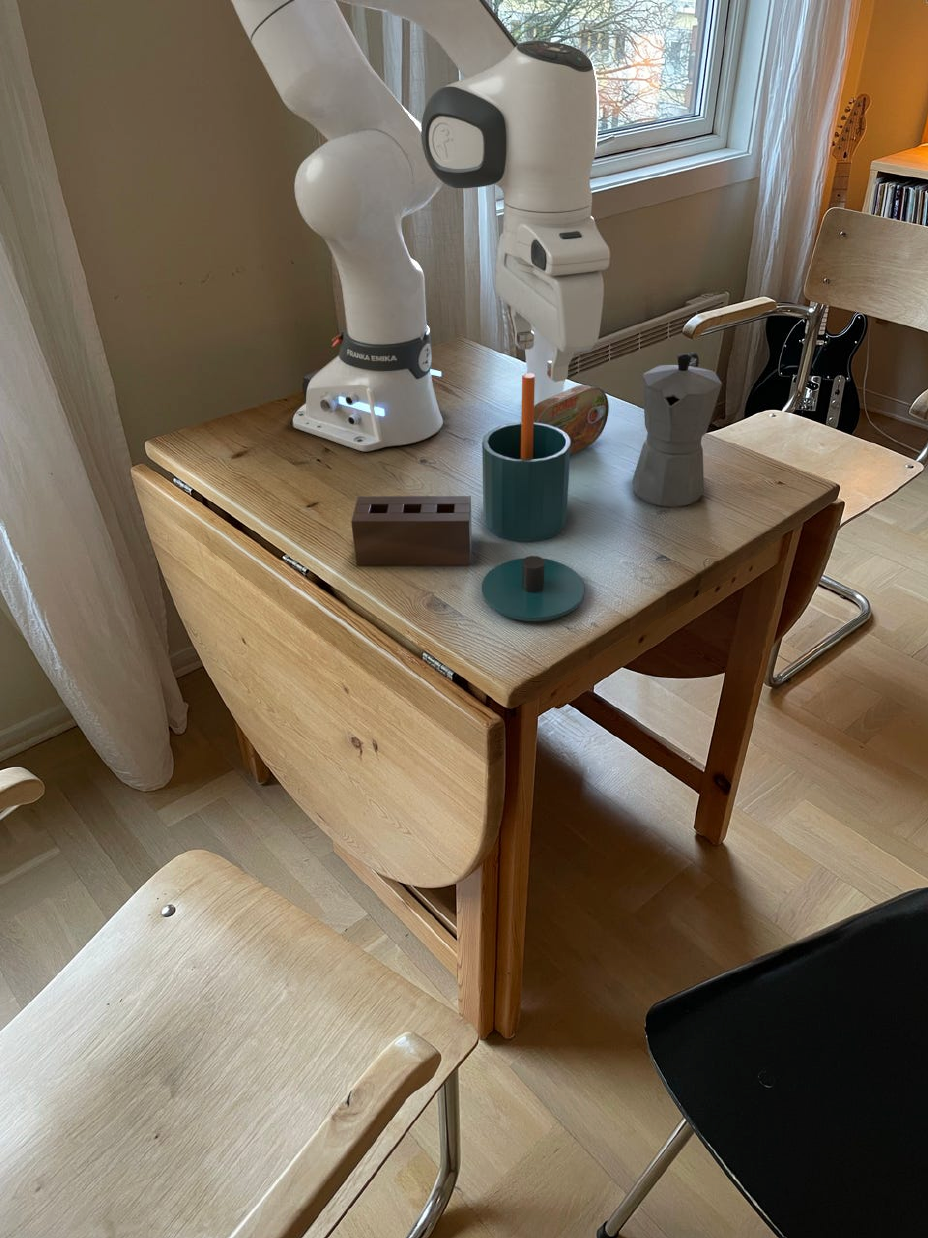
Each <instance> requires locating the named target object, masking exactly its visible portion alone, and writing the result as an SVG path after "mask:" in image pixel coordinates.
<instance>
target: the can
mask: <svg viewBox="0 0 928 1238" xmlns="http://www.w3.org/2000/svg"><path fill="white" fill-rule="evenodd" d="M570 445H571V440H570V438H569V436H568V435H567V434H566V433H565V432H563V431H562V430H561V429H559V428H556V427H553V426H551V425H547V424H542V423H536V422H534V429H533V459H532V460H522V459H521V422H520V421H519V422H511V423H506V424H503V425H499V426H497V427H495V428H493V429H491V430H489V431H488V432H487V433H486V434H485V435H484V436H483V439H482V442H481V447H482V452H481V455H482V506H483V507H482V508H483V509H482V512H483V513H482V514H483V515H482V517H483V522H484V525H485V527H486V528H487V530H488V531H490V533H492V534H493V535H495V536H498V537H500V538H502V539H504V540H505V539H506V540H509V541H514V542H537V541H543V540H547V539H549V538H552V537H554V536H555V535H557V534H559V533H560V532H561V531H562V530H563V529H564V528H565V527H566V524H567V519H568V518H567V517H568V516H567V515H568V500H569V484H570V483H569V480H570V465H571V461H570V460H571V455H570Z"/></svg>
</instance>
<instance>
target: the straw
mask: <svg viewBox="0 0 928 1238" xmlns="http://www.w3.org/2000/svg"><path fill="white" fill-rule="evenodd" d="M534 387H535V375H534V374H530V373H527V372H526V373H523V374H522V375H521V420H520V421H521V459H522V460H532V459H533V429H534Z"/></svg>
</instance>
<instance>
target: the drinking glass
mask: <svg viewBox="0 0 928 1238" xmlns="http://www.w3.org/2000/svg"><path fill="white" fill-rule="evenodd" d="M531 327H532V332H533V333H534V346H533V348H532V349H526V350H524V352H525V354H524V355H525V368H526V374H527V373H530V374H534V375H535V387H534V406H535V405H536V404H538V403H539V402H541V401H544V400H546V399H548V398H550V397H553V396H555V395H557V394H560V393H562V392H564V391H565V390H564V389H565V381H566V380H564V381H559V382H554V381H553V380H552V379H551V378H550V377H549V376H548V375H547V371H548V362H549V361H552V358H553V354H554V352H553V351H552V343H551V342H550V341H549V340H548V339H547V338H546V337H544V336H543V335H542V334H541V333H540V332H539V331H538V330H536V329H535V328H534V327H533V326H532V325H531Z"/></svg>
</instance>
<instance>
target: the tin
mask: <svg viewBox="0 0 928 1238" xmlns="http://www.w3.org/2000/svg"><path fill="white" fill-rule="evenodd" d="M608 399H609V398H608V396H607V394H606V392H605V391H604V390H603V389H601V388H600V387H597V386H591V385H587V384H580V385H575V386H573V387H571V388H568V389H566V390H563V392H562V393H560V394H557V395H555V396H553V397H550V398H548V399H546V400H544V401H541V402H539V403H538V404H536V405H535V406H534V422H536V423H542V424H547V425H551V426H553V427H556V428H559V429H561V430H562V431H563V432H565V433H566V434H567V435H568V436H569V438H570V440H571V445H570V456H571V455H573V454H575V453H577V452H580V451H581V450H583V449H586V448H587V447H590V446H591V445H593V444H594V443H596V441H597V440H598V439H599V438H600V436H601V435H602V433H603V431H604V430H605V427H606V425H607V422H608V419H609V412H610V406H609V404H610V403H609V400H608Z"/></svg>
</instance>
